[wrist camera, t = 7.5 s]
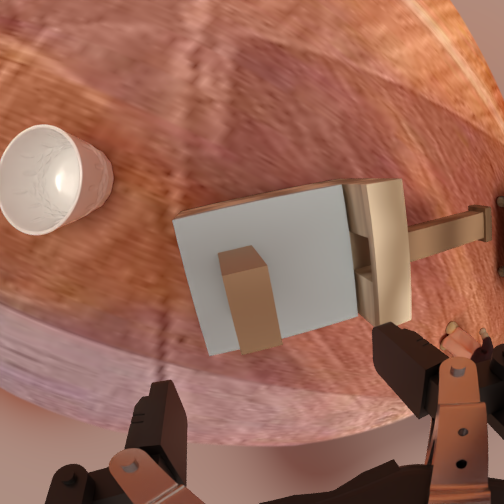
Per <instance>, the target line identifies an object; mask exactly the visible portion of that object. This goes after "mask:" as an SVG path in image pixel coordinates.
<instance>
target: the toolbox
mask: <svg viewBox="0 0 504 504" xmlns="http://www.w3.org/2000/svg"><path fill="white" fill-rule="evenodd" d="M331 185H342V189H343V195H344V202H345V208H346V215H347V221H348V228H349V236H350V243H351V251H352V260H353V269H354V278H355V288H356V299H357V311H358V313H359V314H360V315H361V316H362V317H364V318H365V319H366V320H367V321H368V322H369V323H371V324H372V325H373V326H374V327H376V326H379V325H382V324H384V323H387V322H393V323H394V324H395V325H396V326H397V325H399V324H402V323H404V322H407V321H409V320H411V272H410V253H409V239H408V228H407V217H406V208H405V200H404V192H403V185H402V179H389V178H367V179H335V180H329V181H324V182H318V183H313V184H307V185H302V186H297V187H291V188H286V189H281V190H276V191H271V192H266V193H261V194H256V195H252V196H247V197H242V198H238V199H233V200H228V201H224V202H219V203H215V204H210V205H206V206H202V207H197V208H193V209H189V210H185V211H181V212H180V213H179V214H178V215H177V216H176V217H175V218H180V217H184V216H188V215H192V214H196V213H201V212H205V211H209V210H214V209H218V208H223V207H227V206H232V205H236V204H241V203H246V202H250V201H255V200H260V199H264V198H269V197H274V196H279V195H284V194H289V193H294V192H299V191H305V190H310V189H315V188H321V187H326V186H331ZM175 218H174V219H175Z"/></svg>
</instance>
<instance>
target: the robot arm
mask: <svg viewBox="0 0 504 504" xmlns="http://www.w3.org/2000/svg"><path fill="white" fill-rule="evenodd" d="M372 342H373V363H374V366H375V369H376V371H377V372H378V374H379V375H380V376H381V377H382V378H383V379H384V380H385V382H386V383H387V384H388V385H389V386H390V387H391V388H392V390H393V391H394V392H395V393H396V394H397V395H398V396H399V397H400V399H401V400H402V401H403V402H404V403H405V404H406V405H407V406H408V408H409V409H410V410H411V411H412V412H413V413H414V414H415V416H416V417H417V418H418V419H420V418H422V417H424V416H426V415H428V414H429V415H430V416H431V417H432V418H431V423H430V431H429V439H428V446H427V453H426V459H425V464H414V465H404V466H400V467H399V466H398V465H397V463H396V462H395V460H391V461H389V462H386V463H384V464H382V465H379V466H377V467H375V468H372V469H370V470H368V471H365V472H363V473H361V474H360V475H358V476H357V477H355V478H353V479H352V480H351V481H349V482H347V483H345V484H344V485H342V486H340V487H339V488H337V489H336V490H333V491H330V492H323V493H313V494H304V495H303V494H302V495H293V496H289V497H285V498H281V499H277V500H273V501H268V502H263V503H259V504H504V480H501V479H495V478H489V477H488V429H487V423H488V424H489V425H490V426H491V427H492V428H493V429H494V430H495V431H496V432H497V433H498V434H499V435H500V436H501V437H502V439H503V440H504V344H500V345H498V346H496V347H495V348H494V349H493V351H492V356H491V359H490V360H486V361H483V362H479V363H474V362H473V361H472V360H470V359H468V358H466V357H451V358H449V357H448V356H447V355H445V354H444V353H443V352H441V351H440V350H439V349H437V348H436V347H435V346H433V345H432V344H429V342H428V341H427V340H425V339H423V337H421V336H420V335H419V334H417V333H416V332H414V331H411V330H408V329H405V328H404V329H400V328H399V327H398V326H396V325H395V324H394V323H393V322H387V323H384V324H382V325H379V326H376V327H374V328H373V330H372ZM186 460H187V417H186V413H185V410H184V407H183V405H182V403H181V400H180V398H179V396H178V393H177V391H176V388H175V386H174V384H173V382H172V380H166V381H160V382H154V383H152V384H151V388H150V393H149V396H145V397H142V398H141V399H140V400H139V402H138V403H137V404H136V405H135V408H134V412H133V417H132V420H131V424H130V428H129V432H128V436H127V440H126V445H125V449H124V450H122V451H120V452H119V453H117V454H116V455H115V456H114V457H113V458H112V459H111V461H110V463H109V467H107V468H104V469H101V470H97V471H93V472H89V473H88V472H87V471H86V469H85V468H84V467H82V466H80V465H78V464H69V465H66V466H63V467H61V468H60V469H59V470H58V471H57V472H56V473H55V474H54V476H53V479H52V482H51V485H50V488H49V492H48V495H47V498H46V501H45V504H205V503H204V502H203V501H201V500H200V499H199V498H198V497H197V496H195V495H194V494H193V493H192V492H191V491H190V490H189V489H187V488H186V470H187V469H186V468H187V461H186Z"/></svg>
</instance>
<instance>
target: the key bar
mask: <svg viewBox="0 0 504 504" xmlns="http://www.w3.org/2000/svg"><path fill="white" fill-rule="evenodd" d="M468 210H469V211H466V212H462V213H458V214H454V215H451V216H447V217H443V218H439V219H435V220H431V221H427V222H423V223H419V224H415V225H411V226H407V228H408V239H409V253H410V262H412V261H415V260H419V259H422V258H425V257H428V256H431V255H434V254H437V253H440V252H443V251H446V250H449V249H452V248H455V247H458V246H461V245H464V244H467V243H470V242H473V241H476V240H480V241H483V242H488V241H491V240H492V216H491V207H488V206H481V205H470V206H468Z"/></svg>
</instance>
